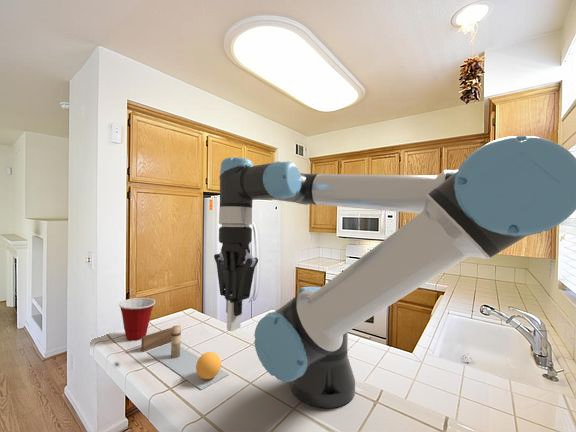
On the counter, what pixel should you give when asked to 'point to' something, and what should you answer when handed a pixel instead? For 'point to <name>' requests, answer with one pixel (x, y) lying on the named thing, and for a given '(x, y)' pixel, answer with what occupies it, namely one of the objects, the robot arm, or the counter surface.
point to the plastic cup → (136, 317)
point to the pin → (175, 341)
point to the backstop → (156, 339)
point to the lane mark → (185, 365)
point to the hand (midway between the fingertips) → (233, 328)
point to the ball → (208, 365)
